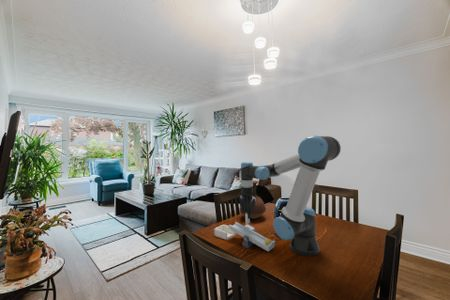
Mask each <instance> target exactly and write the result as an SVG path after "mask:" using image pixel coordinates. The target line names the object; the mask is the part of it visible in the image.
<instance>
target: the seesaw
mask: <svg viewBox="0 0 450 300" xmlns="http://www.w3.org/2000/svg"><path fill="white" fill-rule="evenodd" d="M228 226H229V229H230V230H232V231H234V232H235V233H236V235H239V236H241V237H242V238H244V236H248V237H249V241H251V242H253V243H254V245H256V246H258V247H260V248H261V249H263V250H265V251H267V252H270V251H271V250H272V249H274V247H275V244H276V240H271V243H270V244H269V245H268V246H267V245H266V244H265V240H266V239H268V238H267V237H266V236H264V235H261V234H260V233H258V232H257V231H256V227H253V226H252V225H250V224H249V223H248V224H245V225H243V224H241V223H239V222H237V221H235V222H234V224H233V225H232V224H229V225H228ZM254 231H256V232H257V233H256V232H254Z"/></svg>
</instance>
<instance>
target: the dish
mask: <svg viewBox="0 0 450 300" xmlns="http://www.w3.org/2000/svg"><path fill="white" fill-rule="evenodd" d="M213 235H214V237H217V238H219V239H223V240H226V241H227V240H230V239H231V238H233V237H235V236H237V233H235V232H234V231H232V230H230V229H229V225H227V224H222V225H221V224H220V225H219V226H217V227H215V228H213Z"/></svg>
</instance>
